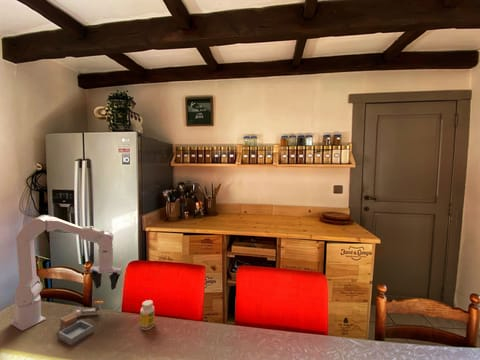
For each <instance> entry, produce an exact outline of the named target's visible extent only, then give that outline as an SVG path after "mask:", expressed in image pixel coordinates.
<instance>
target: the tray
mask: <svg viewBox="0 0 480 360" xmlns="http://www.w3.org/2000/svg"><path fill="white" fill-rule="evenodd" d="M93 333H94V325H92V324H90V323H88V322H87V321H84V320H81V319H80V320H78V321H77V322H76V323H74V324H73V325H71V326H69V327H67V328H65V329H63V330H60V331H58V340H60V341H62V342H64V343H66V344H68V345H69V346H71V347H72V346H73V345H75V344H76V343H78V342H80V341H82V340H83V339H85V338H86V337H88V336H89V335H91V334H93Z"/></svg>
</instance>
